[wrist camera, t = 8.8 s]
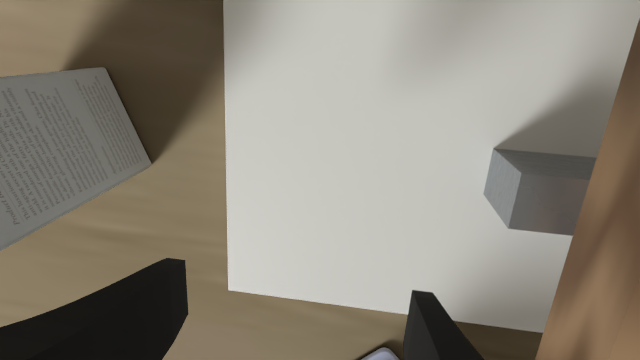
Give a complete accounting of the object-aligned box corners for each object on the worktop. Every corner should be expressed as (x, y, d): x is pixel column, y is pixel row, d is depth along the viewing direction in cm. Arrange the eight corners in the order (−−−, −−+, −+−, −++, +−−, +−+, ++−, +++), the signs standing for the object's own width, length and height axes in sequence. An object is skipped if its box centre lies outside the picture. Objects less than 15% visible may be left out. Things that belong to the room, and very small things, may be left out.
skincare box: (46, 90, 23) (-282, 135, 11) (107, 65, 22) (-185, 88, 10) (96, 186, 24) (-147, 310, 13) (156, 167, 23) (-52, 283, 12)
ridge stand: (786, -16, 16) (949, -40, 12) (642, 335, 22) (713, 412, 18) (230, -41, 19) (182, -69, 14) (233, 280, 25) (200, 335, 20)
